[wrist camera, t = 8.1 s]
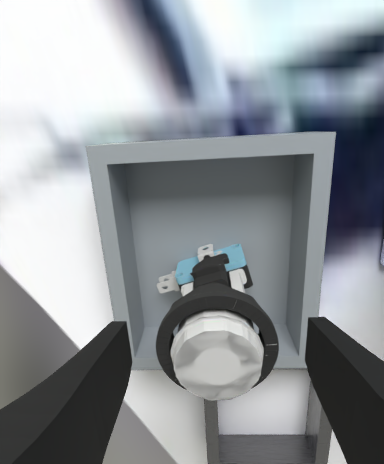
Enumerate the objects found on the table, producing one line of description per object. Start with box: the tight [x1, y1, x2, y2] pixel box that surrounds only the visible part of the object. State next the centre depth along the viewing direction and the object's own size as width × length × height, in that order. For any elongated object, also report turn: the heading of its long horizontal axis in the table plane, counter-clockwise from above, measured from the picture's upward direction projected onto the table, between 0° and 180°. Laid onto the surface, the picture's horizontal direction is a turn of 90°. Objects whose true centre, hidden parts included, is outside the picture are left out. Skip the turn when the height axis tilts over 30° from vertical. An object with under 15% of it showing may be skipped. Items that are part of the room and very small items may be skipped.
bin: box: [86, 132, 336, 370], centre depth 20 cm, size 13×15×4 cm
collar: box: [204, 368, 332, 464], centre depth 25 cm, size 10×12×2 cm
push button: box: [156, 244, 279, 400], centre depth 17 cm, size 7×5×10 cm
